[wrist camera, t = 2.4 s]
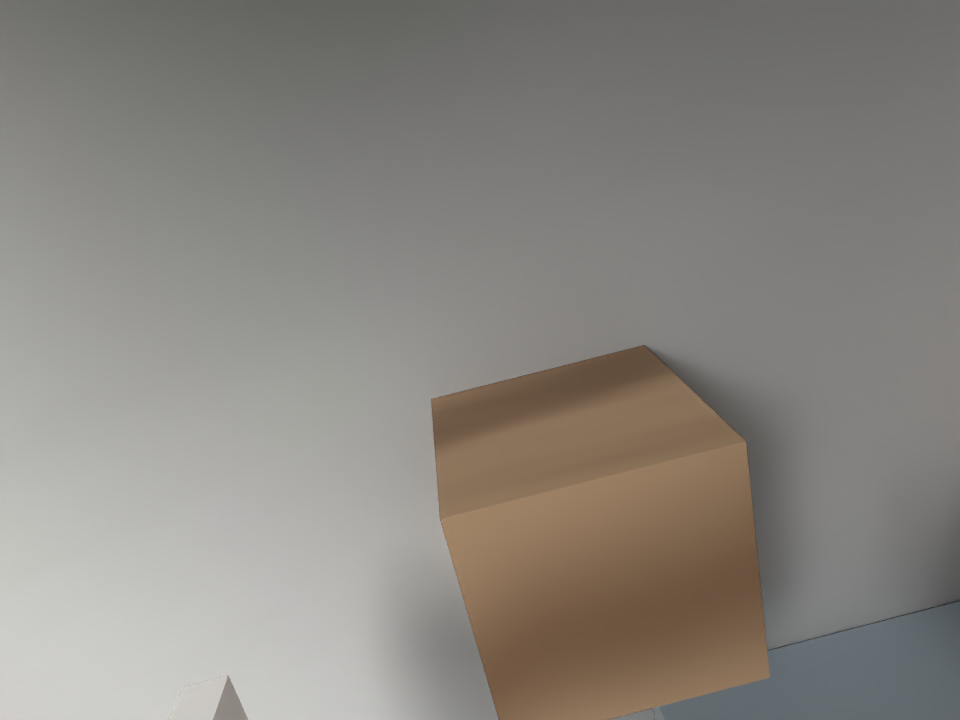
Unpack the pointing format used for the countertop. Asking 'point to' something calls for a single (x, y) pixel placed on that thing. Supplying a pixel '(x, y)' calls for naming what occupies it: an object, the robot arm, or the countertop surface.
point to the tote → (850, 676)
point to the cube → (600, 539)
